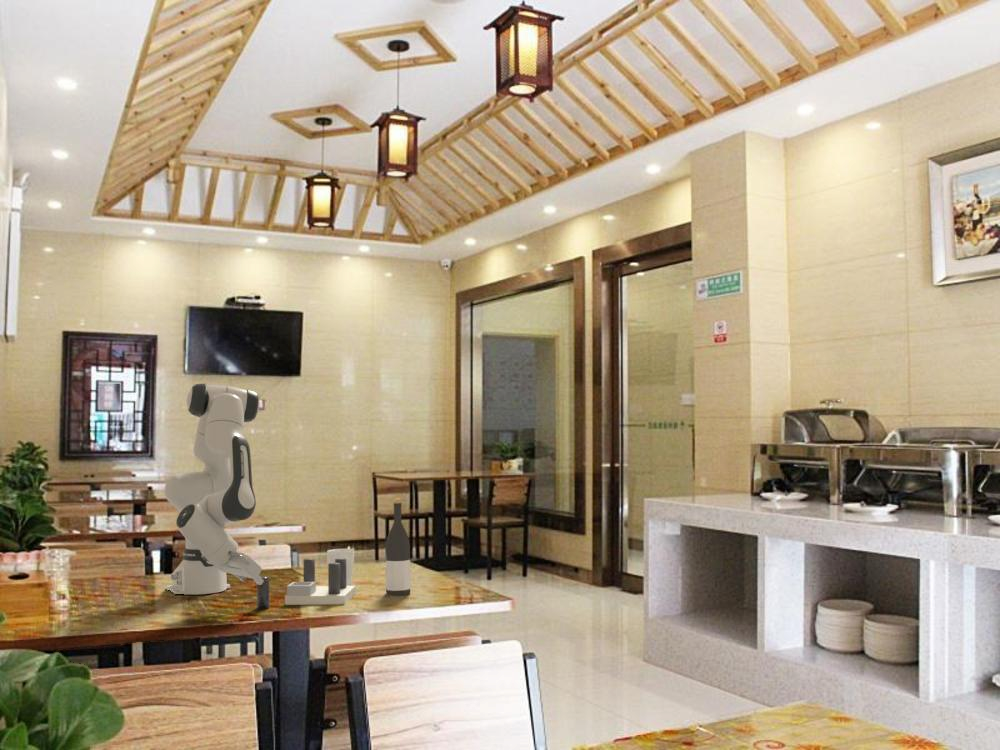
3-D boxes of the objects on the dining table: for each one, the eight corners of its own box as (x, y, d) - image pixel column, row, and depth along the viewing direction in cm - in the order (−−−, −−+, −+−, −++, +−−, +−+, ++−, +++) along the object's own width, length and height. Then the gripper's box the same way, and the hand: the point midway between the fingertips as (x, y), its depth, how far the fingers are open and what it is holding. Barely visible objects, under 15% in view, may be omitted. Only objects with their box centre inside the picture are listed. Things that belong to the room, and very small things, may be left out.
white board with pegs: (285, 604, 274) (285, 566, 275) (299, 594, 292) (299, 557, 293) (344, 604, 274) (344, 565, 275) (355, 593, 292) (355, 557, 292)
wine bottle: (406, 596, 286) (405, 499, 288) (381, 595, 288) (381, 499, 290) (414, 591, 294) (413, 497, 296) (390, 591, 296) (389, 497, 298)
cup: (348, 589, 300) (348, 552, 301) (322, 588, 302) (322, 551, 303) (358, 584, 309) (358, 548, 310) (332, 584, 311) (332, 548, 312)
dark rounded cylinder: (254, 608, 269) (254, 577, 270) (265, 606, 272) (265, 576, 272) (260, 609, 267) (260, 578, 267) (271, 608, 269) (271, 577, 270)
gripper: (246, 545, 255) (278, 576, 262) (213, 539, 270) (243, 569, 276) (232, 562, 252) (264, 594, 258) (198, 556, 267) (229, 586, 273)
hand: (253, 581), depth 267 cm, fingers open, 8 cm apart
